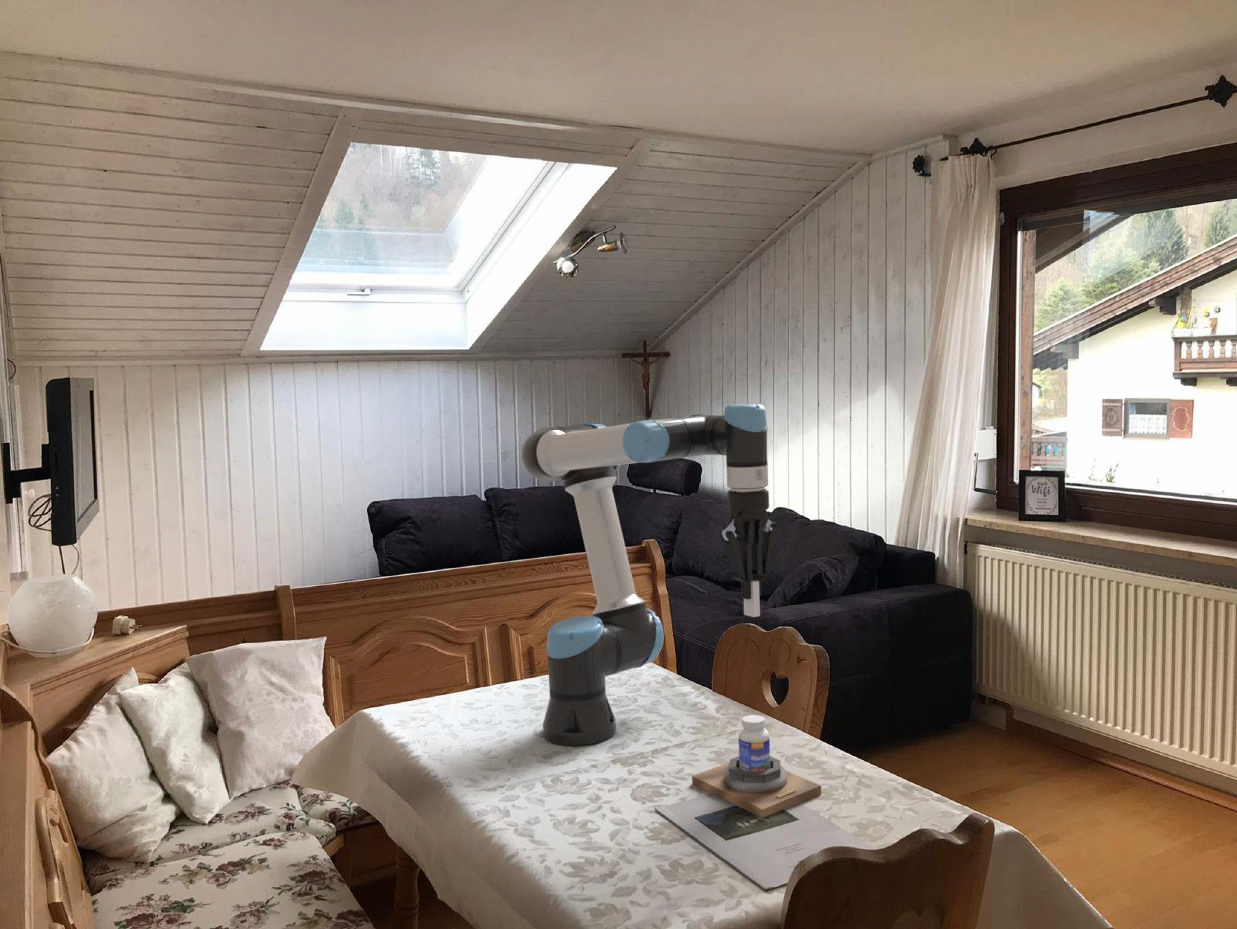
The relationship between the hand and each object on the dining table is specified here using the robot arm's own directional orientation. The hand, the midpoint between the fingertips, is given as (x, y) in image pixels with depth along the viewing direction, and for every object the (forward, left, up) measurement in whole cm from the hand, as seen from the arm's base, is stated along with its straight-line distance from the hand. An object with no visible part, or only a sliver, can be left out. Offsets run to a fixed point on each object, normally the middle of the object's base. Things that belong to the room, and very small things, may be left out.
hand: (752, 615), depth 183 cm
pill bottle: (+8, -8, -26) cm, 28 cm away
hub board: (+8, -8, -28) cm, 31 cm away
